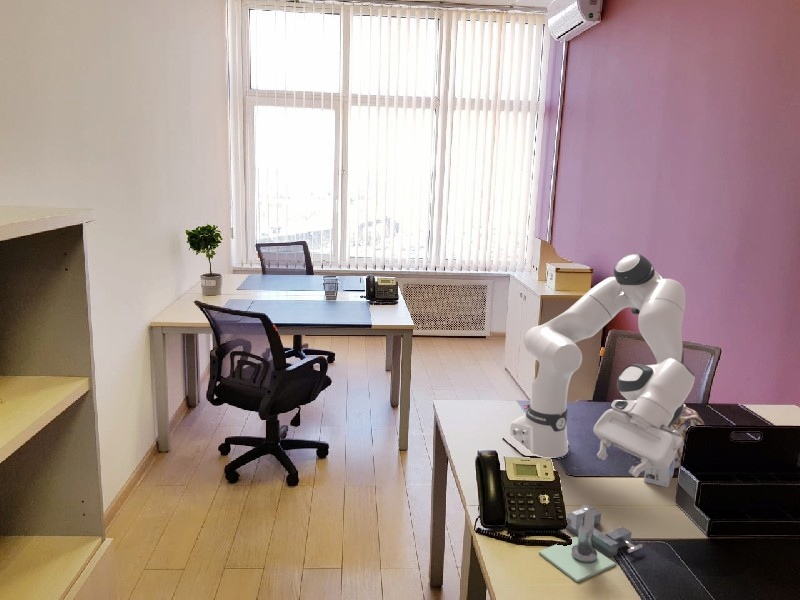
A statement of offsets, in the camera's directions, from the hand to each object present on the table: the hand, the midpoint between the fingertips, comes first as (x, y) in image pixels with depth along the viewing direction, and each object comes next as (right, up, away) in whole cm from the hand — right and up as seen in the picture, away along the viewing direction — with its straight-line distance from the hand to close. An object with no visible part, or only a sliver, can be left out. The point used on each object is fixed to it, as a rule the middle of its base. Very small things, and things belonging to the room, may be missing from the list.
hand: (615, 466), depth 143 cm
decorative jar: (+35, -11, +49) cm, 61 cm away
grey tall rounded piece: (-8, -20, -1) cm, 22 cm away
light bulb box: (+25, -14, +37) cm, 47 cm away
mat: (-10, -21, -1) cm, 23 cm away
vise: (-1, -19, +7) cm, 21 cm away
